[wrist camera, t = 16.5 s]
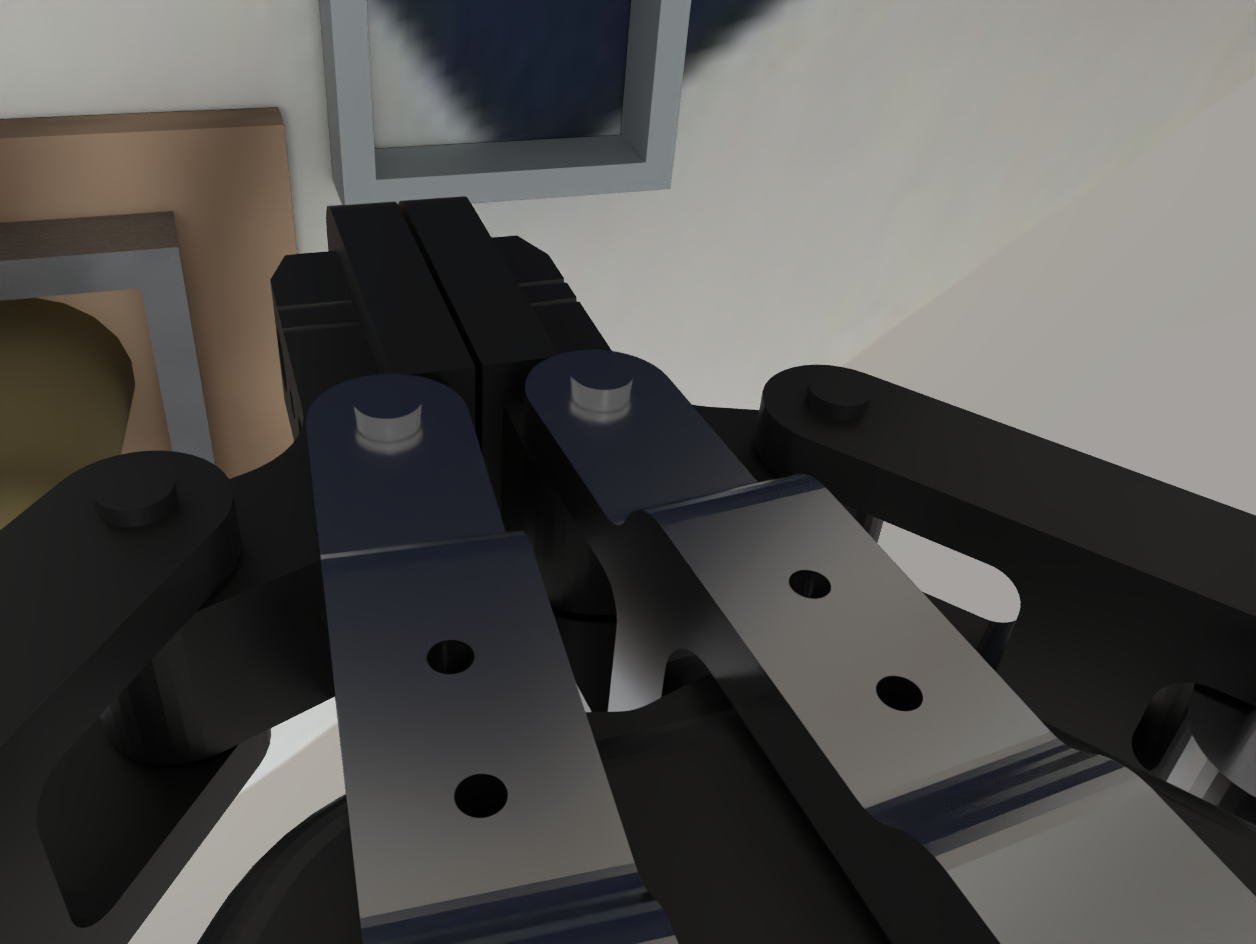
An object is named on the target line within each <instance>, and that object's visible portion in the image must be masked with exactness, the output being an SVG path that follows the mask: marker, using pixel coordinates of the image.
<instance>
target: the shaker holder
mask: <svg viewBox="0 0 1256 944" xmlns="http://www.w3.org/2000/svg"><path fill="white" fill-rule="evenodd" d="M690 5H691V0H631V10H630V23H629V35H628V48H627V61H626V73H625V86H624V98H623V111H622V124H621V135H614V136H596V137H578V138H560V139H542V140H524V141H506V142H488V143H470V144H452V145H434V146H416V147H398V148H380V149H374V132H373V114H372V95H371V76H370V57H369V38H368V19H367V1H366V0H319V6H320V19H321V32H322V45H323V58H324V71H325V84H326V97H327V110H328V123H329V136H330V149H331V162H332V175H333V182H334V185H335V187H336V190H337V192H338V195H339V197H340V200H341V203H342V205H351V204H365V203H379V202H393V201H395V202H397V204H398V203H399V201H405V200H419V199H433V198H447V197H461V196H466V197H467V198H468V199H469V201H470V203H483V202H497V201H511V200H524V199H538V198H552V197H566V196H579V195H593V194H607V193H620V192H634V191H648V190H662V189H670V188H671V179H672V170H673V161H674V152H675V143H676V133H677V124H678V115H679V106H680V97H681V88H682V79H683V69H684V60H685V51H686V42H687V33H688V24H689V15H690Z"/></svg>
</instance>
